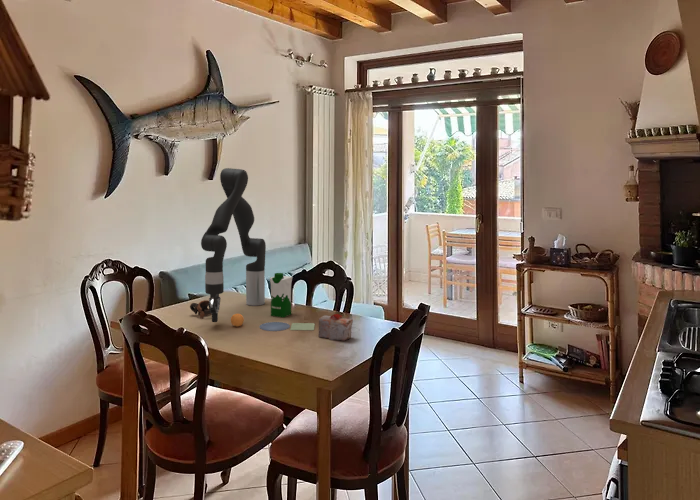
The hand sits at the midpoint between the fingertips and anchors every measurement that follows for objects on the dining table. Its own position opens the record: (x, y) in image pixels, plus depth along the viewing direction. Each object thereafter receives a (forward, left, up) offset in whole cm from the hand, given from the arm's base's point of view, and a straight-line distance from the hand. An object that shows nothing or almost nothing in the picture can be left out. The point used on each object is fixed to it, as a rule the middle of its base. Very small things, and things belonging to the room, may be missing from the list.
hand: (214, 321), depth 220 cm
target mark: (0, +26, -2) cm, 26 cm away
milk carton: (-19, +27, -2) cm, 33 cm away
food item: (+15, +51, -2) cm, 53 cm away
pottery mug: (-16, -9, -2) cm, 19 cm away
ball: (0, +10, +1) cm, 10 cm away
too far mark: (0, +38, -2) cm, 38 cm away
